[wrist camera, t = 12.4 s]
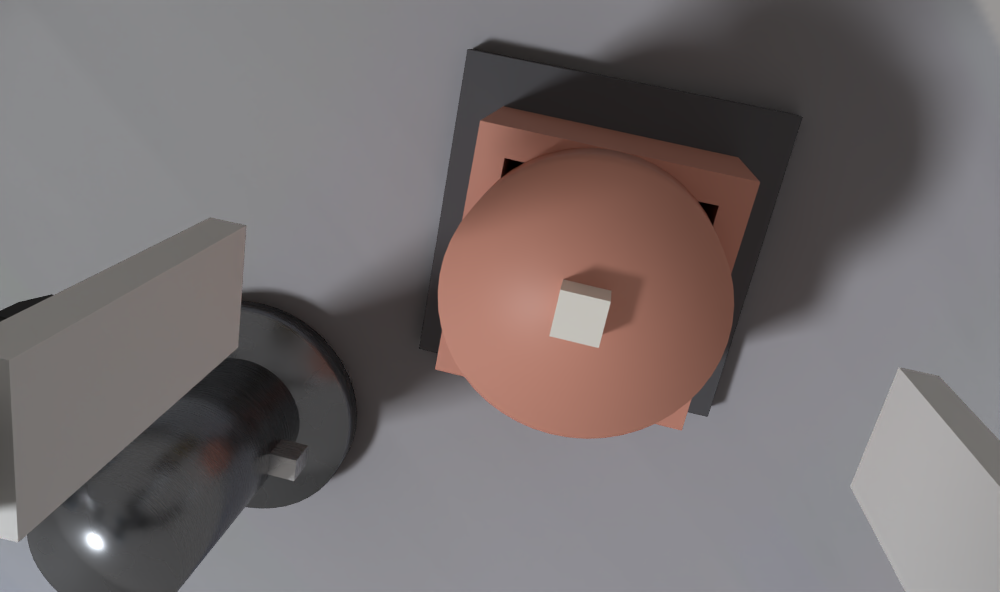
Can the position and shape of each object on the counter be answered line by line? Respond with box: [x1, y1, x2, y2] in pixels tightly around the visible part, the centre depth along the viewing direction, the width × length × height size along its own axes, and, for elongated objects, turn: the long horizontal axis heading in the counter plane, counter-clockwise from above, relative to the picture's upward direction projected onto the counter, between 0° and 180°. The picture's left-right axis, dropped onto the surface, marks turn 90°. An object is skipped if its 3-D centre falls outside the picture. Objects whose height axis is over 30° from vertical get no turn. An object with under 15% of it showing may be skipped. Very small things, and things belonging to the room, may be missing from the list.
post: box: [27, 301, 357, 592], centre depth 25 cm, size 8×8×9 cm
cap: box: [435, 106, 760, 439], centre depth 21 cm, size 7×7×7 cm
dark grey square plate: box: [419, 49, 802, 417], centre depth 25 cm, size 10×10×1 cm
